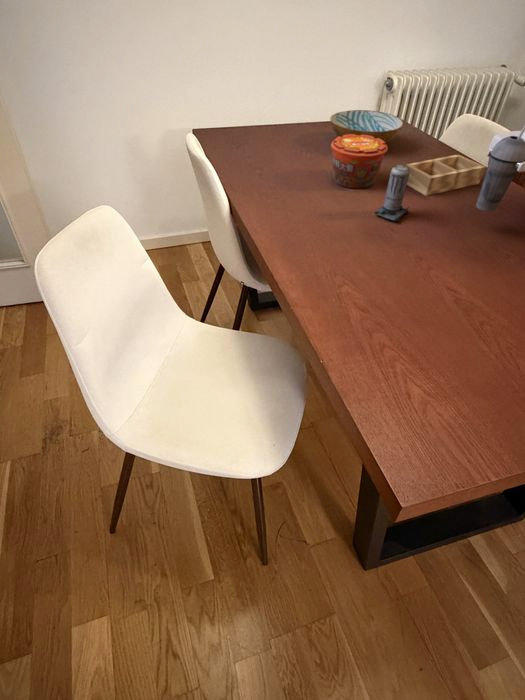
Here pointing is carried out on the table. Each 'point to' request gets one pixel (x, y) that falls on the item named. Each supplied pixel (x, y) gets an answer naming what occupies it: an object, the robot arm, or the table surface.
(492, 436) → the table surface
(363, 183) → the food container
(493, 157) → the beverage cup
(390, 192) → the grey column figurine
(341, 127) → the bowl
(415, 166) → the wooden divided box
